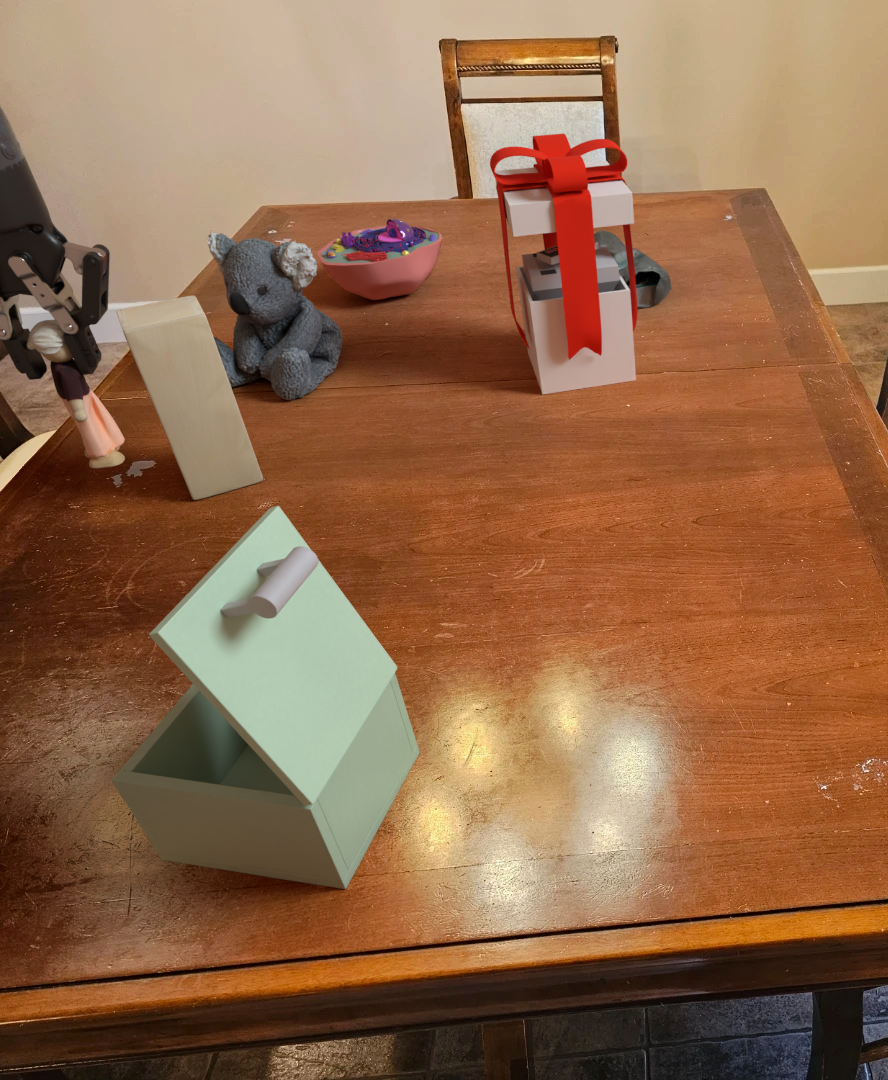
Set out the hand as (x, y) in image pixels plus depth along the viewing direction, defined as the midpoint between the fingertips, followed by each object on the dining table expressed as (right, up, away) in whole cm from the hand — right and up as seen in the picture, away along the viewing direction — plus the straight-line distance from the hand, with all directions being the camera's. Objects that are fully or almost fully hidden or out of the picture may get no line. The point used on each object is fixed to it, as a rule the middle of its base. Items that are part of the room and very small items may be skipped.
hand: (64, 372), depth 78 cm
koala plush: (-7, +10, +55) cm, 56 cm away
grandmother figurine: (0, -7, +5) cm, 8 cm away
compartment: (+22, -35, -5) cm, 41 cm away
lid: (+26, -22, -16) cm, 37 cm away
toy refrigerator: (-4, -7, +33) cm, 34 cm away
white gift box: (+35, +11, +55) cm, 66 cm away
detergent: (+38, +29, +79) cm, 93 cm away
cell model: (0, +27, +77) cm, 82 cm away
